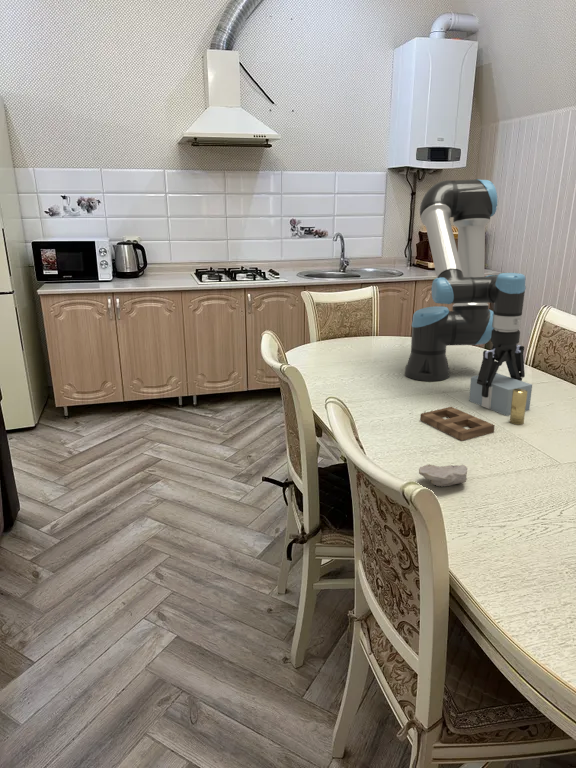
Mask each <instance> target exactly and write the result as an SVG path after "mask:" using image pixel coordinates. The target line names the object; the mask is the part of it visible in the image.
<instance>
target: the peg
mask: <svg viewBox="0 0 576 768" xmlns="http://www.w3.org/2000/svg"><path fill="white" fill-rule="evenodd" d="M526 400H527V390H524V389H514V390H513V394H512V403H511V412H510V415H509V423H510V424H512V425H517V426H522V425H524V423H525V415H526V411H525V409H526Z"/></svg>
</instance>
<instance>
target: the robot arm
mask: <svg viewBox="0 0 576 768" xmlns="http://www.w3.org/2000/svg"><path fill="white" fill-rule="evenodd" d="M497 207H498V192H497V188H496V186H495V184H494V183H493V182H492V181H490V180H488V179H479V178H476V179H458V180H457V179H456V180H455V179H454V180H449V179H447V180H442V181H438V182H437V183H435V184H433V185H432V186H431V187H430V188H429V189H428V190H427V192H425V194H424V195H423V198H422V200H421V202H420V207H419V217H420V221H421V223H422V224H423V225H424V226H425V229H426V233H427V239H428V243H429V247H430V252H431V256H432V261H433V266H434V270H435V275H436V278H434V279H433V280H432V282H431V283H432V284H431V298H432V301H433V303H436V304H442V305H441V306H435V305H434V306H427V307H422V308H420V309H417V310H416V311H415V312H414V313H413V316H412V322H411V341H410V342H411V345H410V354H409V357H408V360H407V363H406V365H405V366H404V367H405V368H404V375H405V376H406V377H407V378H409V379H412V380H416V381H421V382H438V381H444V380H447V379H449V378H450V374H451V369H450V367H449V361H448V357H447V354H446V352H447V346H477V345H486V344H487V343H488V342H490V341H491V344H492V347H491V349H490V350H486V349H484V350H483V352H482V361H481V365H480V368H479V372H478V374H477V375H478V379H477V384H479V385H482V406H481V407H483V408H486V409H488V410H491V409H490V408H491V398H492V388H493V387H491V383H492V381H493V379H494V377H495V375H496V373H498V371H499V368H500V366H502V365H503V363H506V367H507V370H508V373H509V377H510V378H513V379H517V380H520V381H523V378H525V374H526V373H525V362H524V358H525V357H524V353H525V346H523V345H521V344H519V343H520V339H521V338H520V337H521V331H520V329H521V325H522V316H523V311H524V310H523V308H524V301H525V300H524V299H525V292H526V288H527V287H526V275H524V274H523V273H518V272H503V273H501V272H500V273H499V274H497V275H496V274H495V275H494V274H489V275H485V264H486V263H485V257H486V250H485V249H486V226H487V225H488V224H489V223H490V222H491V217H493V216H494V215H496V213H497V209H498V208H497ZM451 218H453V221H452V222H453V223H451V220H450V219H451ZM452 224H453V225H454V226H455V227H456V228H457V243H456V241H455V237H454V231H453V228H452ZM456 244H457V245H456ZM489 303H490V304H491V303H493V310H491V309H490V307H489ZM451 304H452V310H450V309H449V308H448V307H447V306H443V305H451ZM487 381H488V382H487Z"/></svg>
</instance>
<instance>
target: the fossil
mask: <svg viewBox="0 0 576 768" xmlns="http://www.w3.org/2000/svg"><path fill="white" fill-rule="evenodd" d="M418 474H419V475H420V476H423V478H425V479H427V480H429V481H430V483H431V484H432V485H434V486H435V485H436V487H440V486H441V488H443V486H444V487H448V486H449V487H450V486H454V485H458V484H465V483H467V474H468V467H467V466H466V465H464V464H461V465H458V464H457V465H456V464H455V465H453V464H452V465H451V464H450V465H442V466H441V465H440V466H439V465H434V464H425V465H423V466H420V467H419V468H418Z"/></svg>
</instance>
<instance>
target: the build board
mask: <svg viewBox="0 0 576 768" xmlns="http://www.w3.org/2000/svg"><path fill="white" fill-rule="evenodd" d="M445 418H446V419H445ZM419 420H421V421H420V422H422V421H423V422H422V423H424V422H425V423H424V424H426V423H427V425H428V424H429V426H430V425H431V427H432V426H433V428H434V427H435V429H437V430H439V431H441V432H442V433H445V434H447V435H449V436H451V437H453V438H455V439H457V440H459V441H461V442H463V441H466V440H470V439H474V438H478V437H482V436H485V435H489V434H492V433H493V434H494V433H495V424H493V423H490V422H488V421H485V420H484V419H481V418H478V417H476V416H475V415H472V414H470V413H467V412H464V411H462V410H460V409H458V408H455V407H453V406H449V407H444V408H440V409H436V410H430V411H427V412H422V413H420V419H419ZM465 427H468V429H467V428H465Z"/></svg>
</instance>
